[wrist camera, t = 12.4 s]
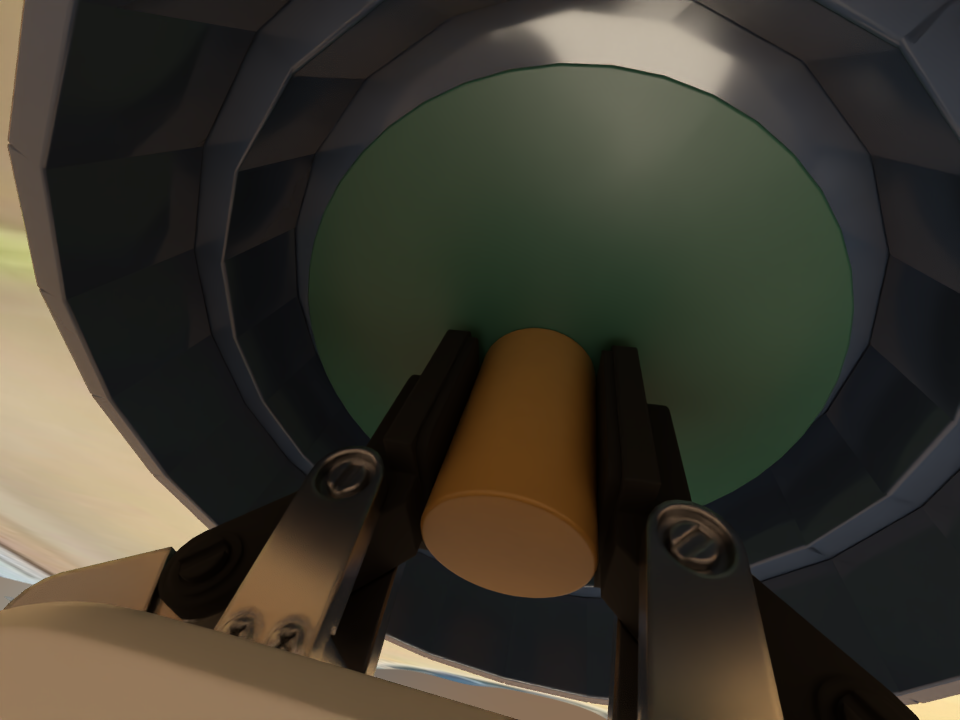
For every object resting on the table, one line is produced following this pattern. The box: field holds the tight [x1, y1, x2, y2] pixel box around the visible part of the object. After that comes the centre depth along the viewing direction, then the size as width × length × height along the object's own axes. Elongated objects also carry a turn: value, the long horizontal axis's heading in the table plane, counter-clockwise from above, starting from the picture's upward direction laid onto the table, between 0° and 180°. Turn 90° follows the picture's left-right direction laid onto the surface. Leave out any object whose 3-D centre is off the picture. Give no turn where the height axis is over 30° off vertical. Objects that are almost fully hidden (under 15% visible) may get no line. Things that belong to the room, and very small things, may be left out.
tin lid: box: [308, 63, 854, 598], centre depth 9 cm, size 13×13×6 cm
